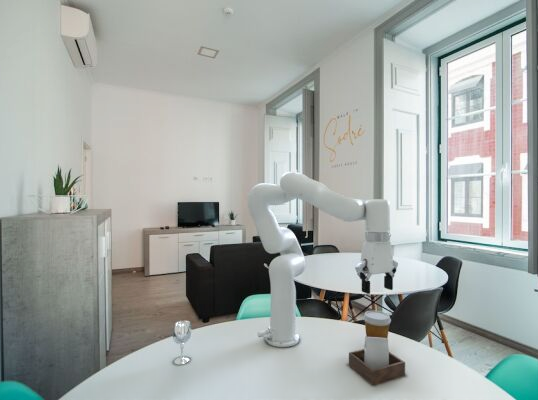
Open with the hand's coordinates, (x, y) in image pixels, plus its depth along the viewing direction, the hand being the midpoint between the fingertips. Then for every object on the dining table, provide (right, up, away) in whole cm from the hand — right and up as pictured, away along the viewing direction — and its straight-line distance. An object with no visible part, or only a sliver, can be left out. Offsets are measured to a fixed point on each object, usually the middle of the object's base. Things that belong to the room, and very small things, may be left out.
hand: (377, 290), depth 95 cm
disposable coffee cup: (+3, -24, +11) cm, 27 cm away
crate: (-1, -24, -3) cm, 24 cm away
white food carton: (-1, -24, -3) cm, 24 cm away
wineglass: (-63, -23, 0) cm, 67 cm away
